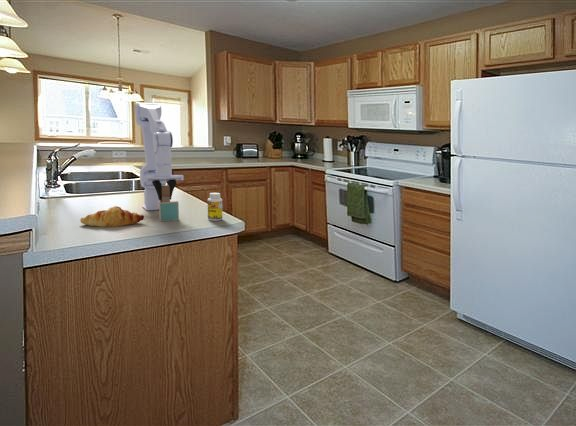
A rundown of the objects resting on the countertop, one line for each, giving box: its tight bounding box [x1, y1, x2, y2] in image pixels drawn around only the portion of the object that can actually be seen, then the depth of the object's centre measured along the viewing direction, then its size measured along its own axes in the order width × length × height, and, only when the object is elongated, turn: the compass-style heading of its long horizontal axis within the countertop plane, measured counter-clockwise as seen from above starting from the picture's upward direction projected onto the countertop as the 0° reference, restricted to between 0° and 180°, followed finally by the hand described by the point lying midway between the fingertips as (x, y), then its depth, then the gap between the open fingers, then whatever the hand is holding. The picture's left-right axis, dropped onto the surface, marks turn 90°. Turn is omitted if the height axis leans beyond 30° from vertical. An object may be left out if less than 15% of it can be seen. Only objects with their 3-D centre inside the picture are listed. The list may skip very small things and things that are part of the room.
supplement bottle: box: [207, 192, 223, 222], centre depth 157 cm, size 6×6×10 cm
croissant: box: [79, 205, 145, 228], centre depth 146 cm, size 21×10×8 cm
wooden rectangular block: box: [160, 184, 171, 202], centre depth 158 cm, size 3×3×9 cm
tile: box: [158, 200, 180, 222], centre depth 155 cm, size 1×7×7 cm, turn 120°
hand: (164, 199), depth 158 cm, fingers closed on wooden rectangular block, 3 cm apart
